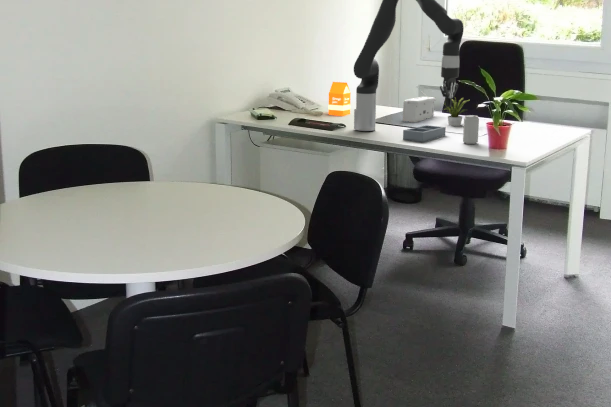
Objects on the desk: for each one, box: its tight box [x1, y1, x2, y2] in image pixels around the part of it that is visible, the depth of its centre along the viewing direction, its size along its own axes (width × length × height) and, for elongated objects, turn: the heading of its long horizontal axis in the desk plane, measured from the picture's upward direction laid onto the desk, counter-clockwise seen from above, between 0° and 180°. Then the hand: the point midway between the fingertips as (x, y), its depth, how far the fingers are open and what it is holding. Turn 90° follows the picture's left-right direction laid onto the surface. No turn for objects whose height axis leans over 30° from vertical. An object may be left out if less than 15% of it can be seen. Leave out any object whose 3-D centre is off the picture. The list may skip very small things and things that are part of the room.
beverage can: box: [462, 114, 480, 145], centre depth 346 cm, size 6×6×12 cm
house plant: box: [443, 96, 469, 127], centre depth 385 cm, size 14×14×16 cm
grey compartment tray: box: [402, 124, 447, 143], centre depth 358 cm, size 20×10×4 cm, turn 142°
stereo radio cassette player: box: [402, 86, 437, 123], centre depth 401 cm, size 21×8×20 cm, turn 144°
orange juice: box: [327, 81, 351, 117], centre depth 413 cm, size 8×9×20 cm
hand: (448, 106), depth 345 cm, fingers closed
